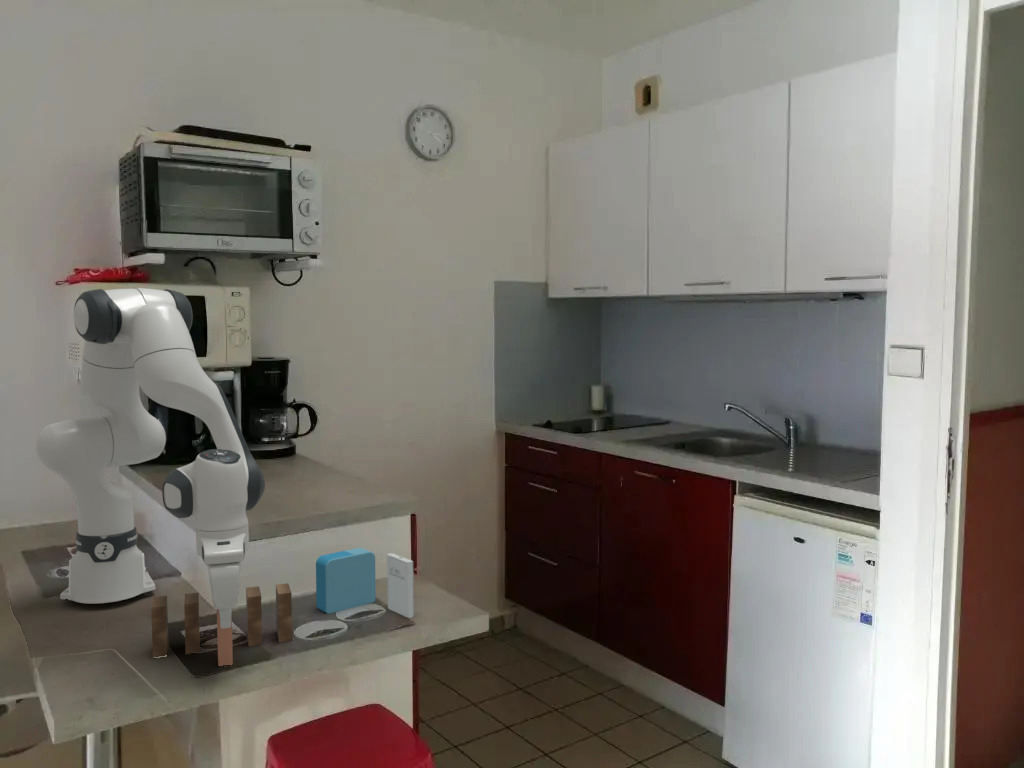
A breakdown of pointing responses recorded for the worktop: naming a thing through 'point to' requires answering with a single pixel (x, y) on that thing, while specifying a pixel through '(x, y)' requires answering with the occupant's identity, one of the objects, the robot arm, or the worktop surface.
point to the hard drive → (400, 585)
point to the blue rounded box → (345, 580)
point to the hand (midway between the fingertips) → (225, 618)
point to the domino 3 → (224, 643)
